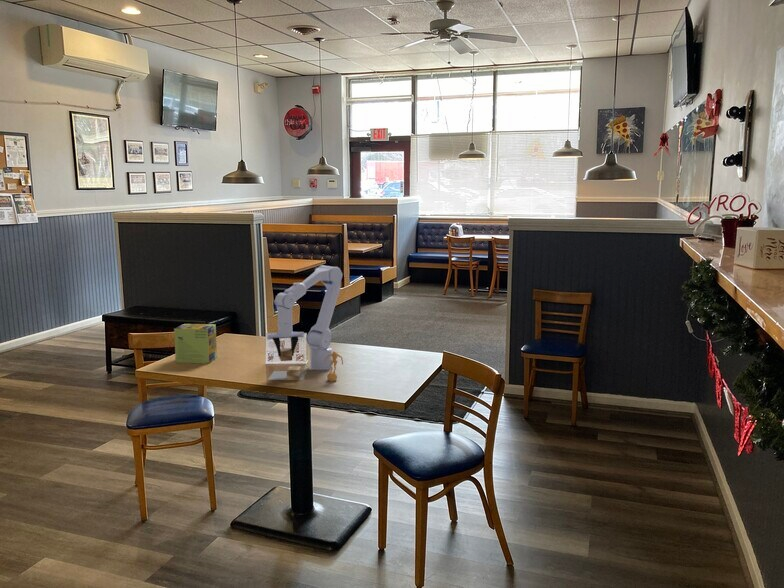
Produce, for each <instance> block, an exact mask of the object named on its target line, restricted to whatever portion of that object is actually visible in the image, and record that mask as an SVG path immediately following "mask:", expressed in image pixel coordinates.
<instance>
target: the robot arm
mask: <svg viewBox="0 0 784 588" xmlns="http://www.w3.org/2000/svg"><path fill="white" fill-rule="evenodd" d="M343 275H344V274H343V272H342V270H341V268H340V267H338V266H330V265H324V264H321V265H319V266H318V267H317V268H315V269H314V272H312V273H311V274H310V275H309V276H308V277H306V278H305V279H304V280H303V281H301V282H300V281H299V282H293V284H292V286H290V287H289V288H287V289H284V291H283V292H279V293H277V295H275V299H274V300H273V302H274V305H275V307H276V310H277V332H275V333H267V334H266V339H267V341H268V340H272V341H273V342H274V345H275V347H276V351H277V356H278V357H279V358H280V357H281V353H280V349H281V340H280V339H290V345H291V346H290V348H291V350H292V357H293V356H294V354H295V351H296V350H295V349H296V347H297V344H298V343H299V338H301V339H302V338H303V339H304V337H305V333H304V331H293V329H294V328H293V307H294V306H295V304H296V302H297V301H298V300H299V299H300V298H302V297H303V296H304V295H306V293H307V290H308V289H309V288H310V289H311V287H313V286H314V285H316V284H317V283H319V282H321V283H322V284H323V285H324V287H325V289H326V291H325V294H324V297H323V300H322V304H321V307H320V311H319V313H318V317H317V320H316V323H315V324H314V325H313V326H312V327H311V328H310V330H309V332H308V333H307V335H306V339H305V340H306V343H307V344H308V347H309V348H310V350H309V352H310V356H309V358H310V360H309V361H310V363H309V364H310V366H309V367H308V370H314V371H315V370H321V371H322V370H327V371H328V370H330V371H331V367H330V363H331V360H332V361H333V359H332V356H329V357H328V358H327V356H328V355H330V354H332V353H333V348H332V347H330V345H331V343H332V331H331V330H330V325H331V321H332V317H333V315H334V310H335V307H336V303H337V301H338V297H339V295H340V292H341V282H342V279H343ZM326 358H327V360H325V359H326ZM324 361H325V363H324Z"/></svg>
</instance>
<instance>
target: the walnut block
mask: <svg viewBox="0 0 784 588" xmlns="http://www.w3.org/2000/svg"><path fill="white" fill-rule="evenodd" d="M280 353H281V357H279V359H280V362H290V361H293V356H292V350H291V347H288V348H287V347H286V348H284V347H283V348H280Z"/></svg>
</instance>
